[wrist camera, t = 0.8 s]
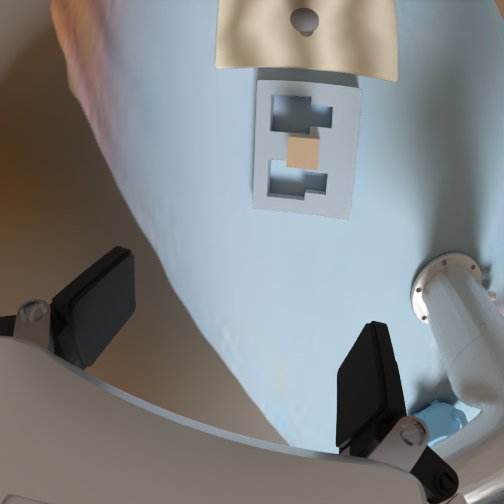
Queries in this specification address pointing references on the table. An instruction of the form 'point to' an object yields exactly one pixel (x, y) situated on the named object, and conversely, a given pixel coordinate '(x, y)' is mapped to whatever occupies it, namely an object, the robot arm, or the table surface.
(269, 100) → the panel
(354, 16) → the board
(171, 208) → the table surface
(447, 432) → the teapot
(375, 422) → the robot arm
